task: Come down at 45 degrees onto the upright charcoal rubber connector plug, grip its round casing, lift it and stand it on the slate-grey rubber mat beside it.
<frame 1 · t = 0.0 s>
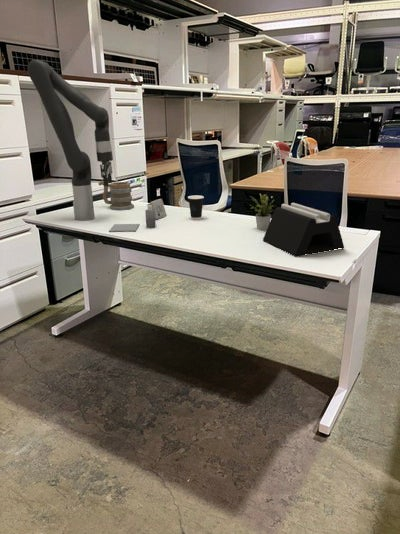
hand: (108, 184, 208), 17 cm above the table, tool pointing down, fingers open, 8 cm apart
electrical switch: (157, 218, 213), on the table
device stand: (301, 246, 166), on the table
tankard: (116, 207, 239), on the table
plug: (151, 227, 196), on the table
dixie cup: (196, 218, 210), on the table
mat: (124, 228, 194), on the table
house plant: (260, 228, 191), on the table
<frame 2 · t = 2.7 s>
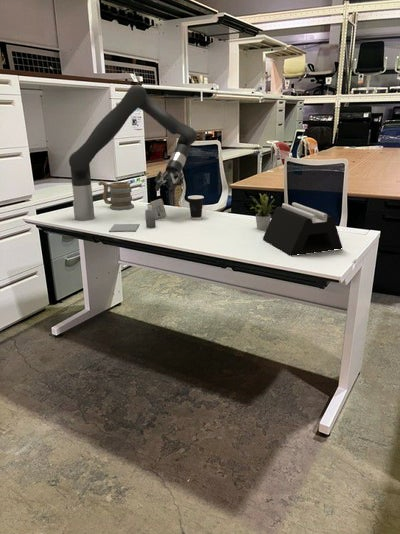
hand: (163, 190, 200), 15 cm above the table, tool tilted 45°, fingers open, 8 cm apart
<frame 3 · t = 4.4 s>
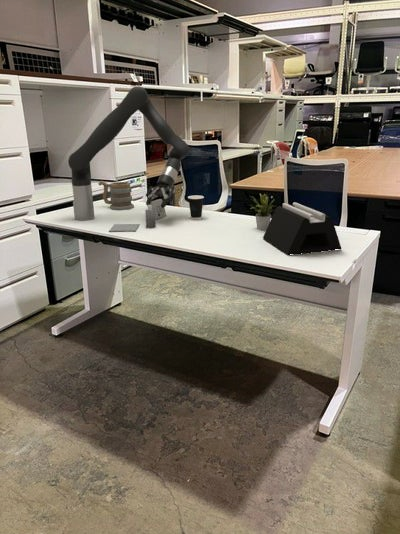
hand: (154, 206, 196), 9 cm above the table, tool tilted 45°, fingers open, 8 cm apart
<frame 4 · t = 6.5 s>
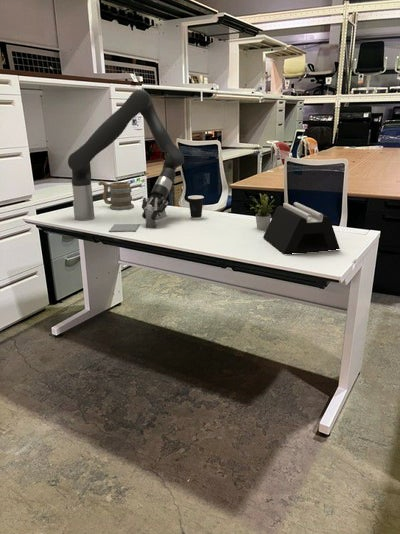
hand: (148, 218, 192), 5 cm above the table, tool tilted 45°, fingers closed on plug, 4 cm apart
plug: (151, 227, 196), on the table, touching gripper
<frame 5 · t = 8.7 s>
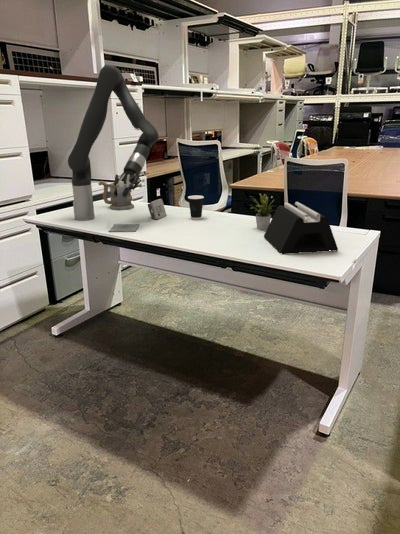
hand: (119, 195, 187), 16 cm above the table, tool tilted 45°, fingers closed on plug, 4 cm apart
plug: (122, 204, 190), point 11 cm above the table, touching gripper
when the fingers open (6 cm above the table, at t = 11.0 s): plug drops 1 cm, resting on mat.
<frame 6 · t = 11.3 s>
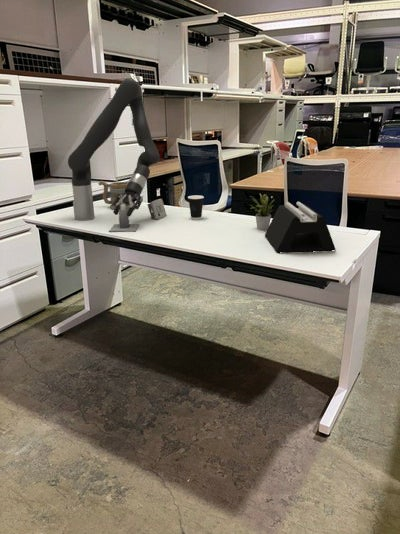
hand: (121, 214, 190), 7 cm above the table, tool tilted 45°, fingers open, 7 cm apart
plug: (124, 227, 194), point 1 cm above the table, touching mat
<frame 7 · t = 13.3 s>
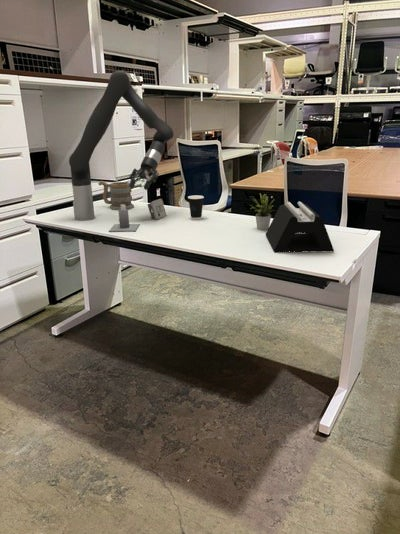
hand: (137, 188, 197), 17 cm above the table, tool tilted 45°, fingers open, 8 cm apart
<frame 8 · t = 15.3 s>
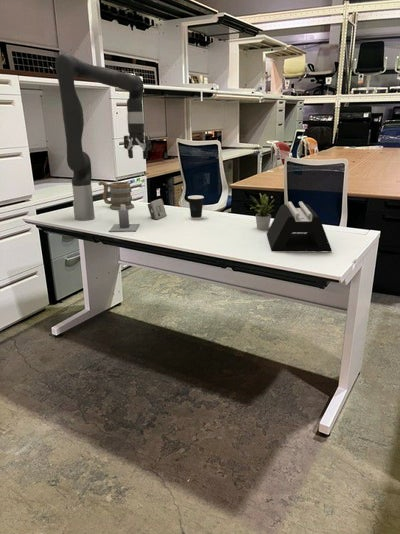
hand: (138, 158, 197), 30 cm above the table, tool pointing down, fingers open, 8 cm apart
at the end: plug inside the target area on the mat (0.1 cm from its centre), point 0.6 cm above the mat's base; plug tilted 1°; the gripper is holding nothing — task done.
